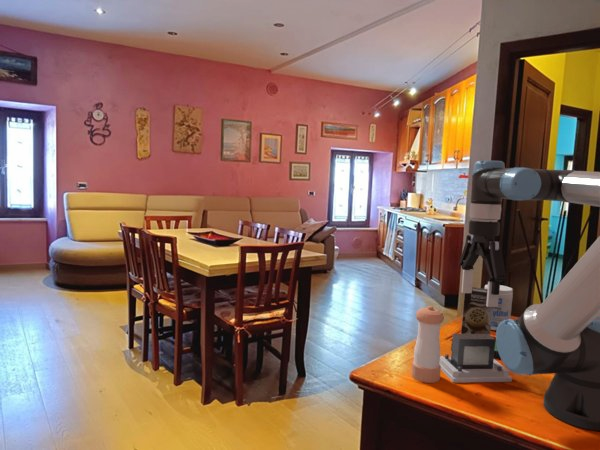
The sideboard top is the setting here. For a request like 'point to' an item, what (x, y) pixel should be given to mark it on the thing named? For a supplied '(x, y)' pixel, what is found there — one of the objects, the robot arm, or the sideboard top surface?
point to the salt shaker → (427, 346)
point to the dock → (474, 372)
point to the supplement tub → (502, 306)
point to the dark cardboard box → (476, 313)
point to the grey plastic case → (473, 351)
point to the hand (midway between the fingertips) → (478, 299)
